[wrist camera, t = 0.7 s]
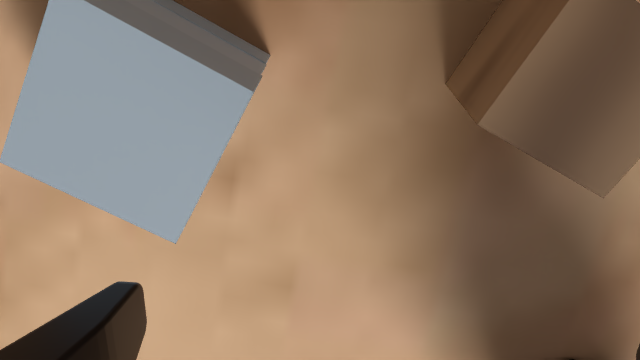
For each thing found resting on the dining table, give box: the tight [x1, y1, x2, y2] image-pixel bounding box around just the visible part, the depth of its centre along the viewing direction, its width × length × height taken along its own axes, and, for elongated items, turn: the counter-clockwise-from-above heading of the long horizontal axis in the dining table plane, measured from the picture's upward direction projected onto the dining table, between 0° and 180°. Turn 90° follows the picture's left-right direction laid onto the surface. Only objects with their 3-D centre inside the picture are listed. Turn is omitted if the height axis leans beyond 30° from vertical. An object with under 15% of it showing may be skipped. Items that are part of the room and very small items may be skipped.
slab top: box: [0, 0, 262, 244], centre depth 16 cm, size 6×6×2 cm
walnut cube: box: [446, 0, 640, 198], centre depth 17 cm, size 5×5×5 cm
